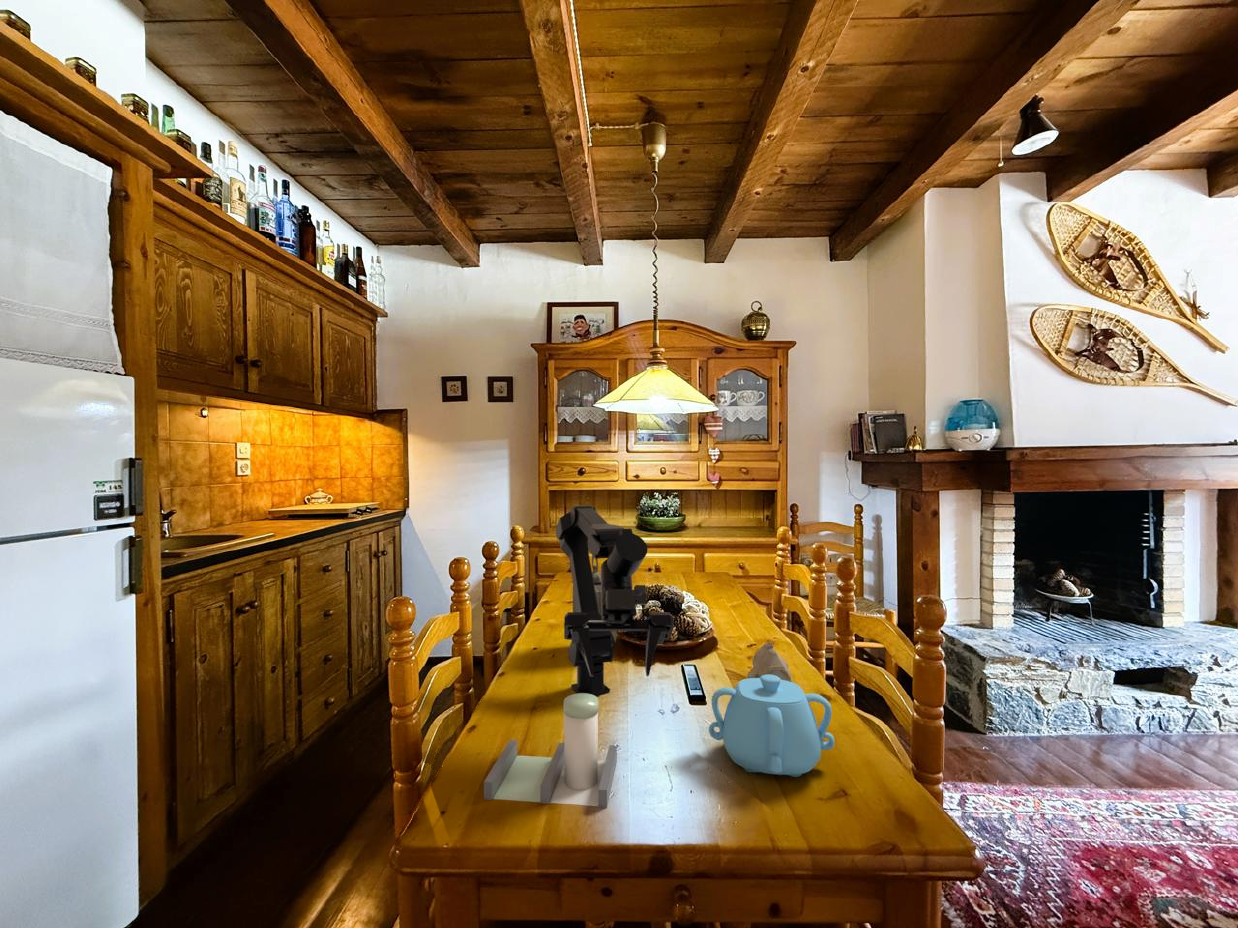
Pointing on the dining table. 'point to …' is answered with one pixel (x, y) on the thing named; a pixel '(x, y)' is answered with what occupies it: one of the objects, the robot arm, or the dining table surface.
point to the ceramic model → (769, 664)
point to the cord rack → (545, 779)
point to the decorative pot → (771, 726)
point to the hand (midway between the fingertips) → (620, 675)
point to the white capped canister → (581, 741)
